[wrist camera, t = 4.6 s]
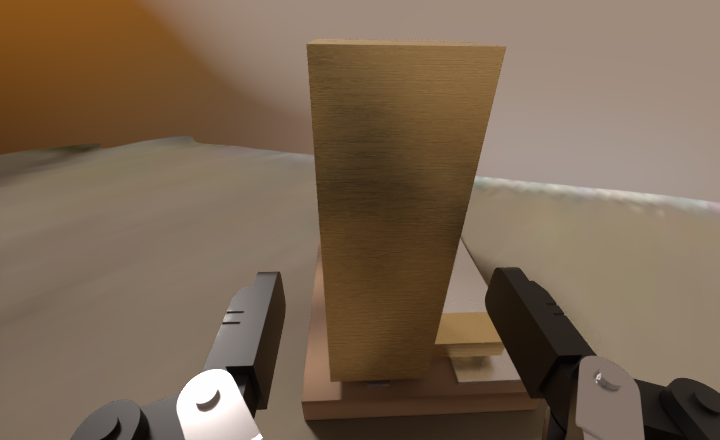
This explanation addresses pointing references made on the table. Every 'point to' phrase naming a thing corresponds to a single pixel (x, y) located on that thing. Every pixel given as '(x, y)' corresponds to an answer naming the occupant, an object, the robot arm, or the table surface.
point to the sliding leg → (397, 197)
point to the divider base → (423, 395)
